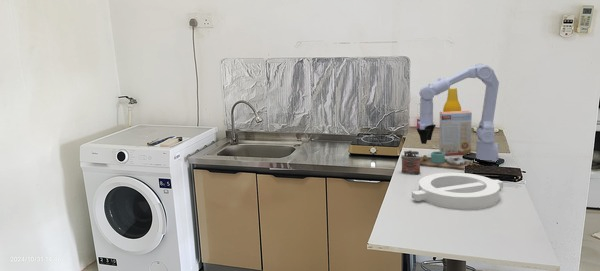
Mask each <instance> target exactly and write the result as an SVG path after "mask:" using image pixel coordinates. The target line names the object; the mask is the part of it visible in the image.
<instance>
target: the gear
mask: <svg viewBox="0 0 600 271" xmlns="http://www.w3.org/2000/svg"><path fill="white" fill-rule="evenodd" d="M430 157H431V159H430V162H432V163H438V164H440V163H445V160H446V159H447V158H446V155H445V153H444V152H440V151H432V152H431V153H430Z"/></svg>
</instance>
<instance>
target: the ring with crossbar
mask: <svg viewBox="0 0 600 271" xmlns="http://www.w3.org/2000/svg"><path fill="white" fill-rule="evenodd" d="M418 181H419V182H418V190H415V191H411V199H413V200H414V201H416V202H417V201H419V202H420V201H424V202H425V203H427V204H431V205H433V206H437V207H440V208H446V209H452V210H453V209H454V210H479V209H484V208H485V209H486V208H490V207H493V206H494V205H497V203H498V202H500V193H501V192H500V190H502V189H504V181H501V180H500V179H492V178H490V177H486V176H484V175H479V174H473V173H467V172H466V173H465V172H438V173H432V174H429V175H426V176H424V177H422V178H421V179H419V180H418Z"/></svg>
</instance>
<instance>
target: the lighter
mask: <svg viewBox="0 0 600 271" xmlns="http://www.w3.org/2000/svg"><path fill="white" fill-rule="evenodd" d="M403 153H404V154H402V155H401V172H400V173H401V174H404V175H406V174H407V175H421V166H420V157H421V156H420V155H419V154H420V152H419V151H417V150H413V151H412V149H410V150H404V152H403Z"/></svg>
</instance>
